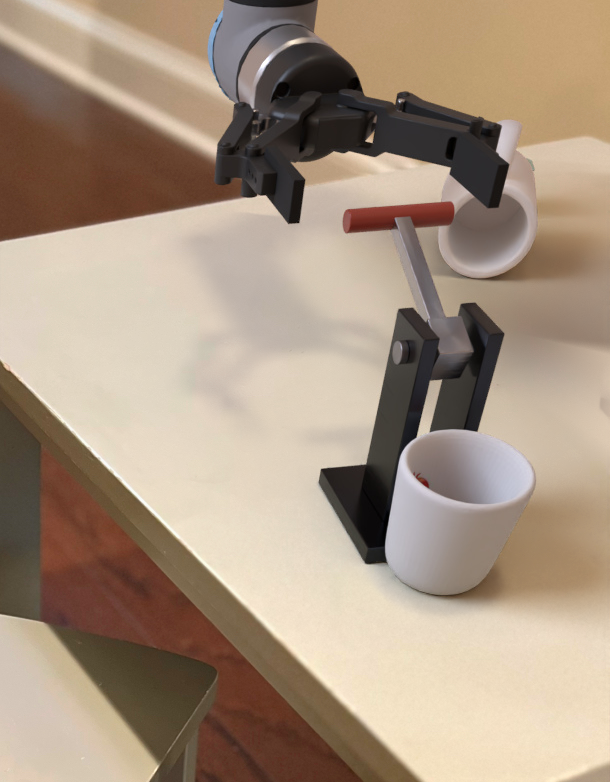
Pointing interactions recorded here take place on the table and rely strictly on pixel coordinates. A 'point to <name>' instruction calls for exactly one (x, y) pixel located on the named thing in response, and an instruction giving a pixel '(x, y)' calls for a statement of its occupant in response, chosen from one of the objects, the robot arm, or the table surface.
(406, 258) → the lever
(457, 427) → the bracket
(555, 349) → the table surface
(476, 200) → the mug
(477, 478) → the cup
